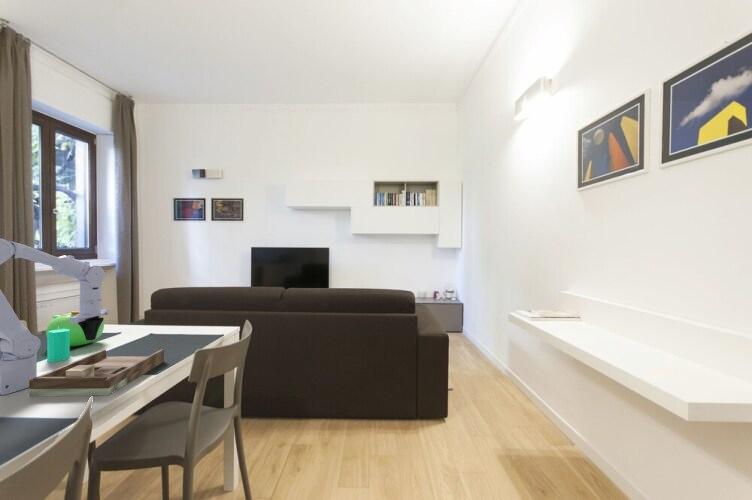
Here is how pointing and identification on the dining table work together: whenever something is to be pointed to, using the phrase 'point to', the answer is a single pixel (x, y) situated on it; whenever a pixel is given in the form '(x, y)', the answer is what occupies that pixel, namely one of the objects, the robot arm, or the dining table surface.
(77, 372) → the beech block
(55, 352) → the candle
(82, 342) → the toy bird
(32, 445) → the dining table surface
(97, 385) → the box
